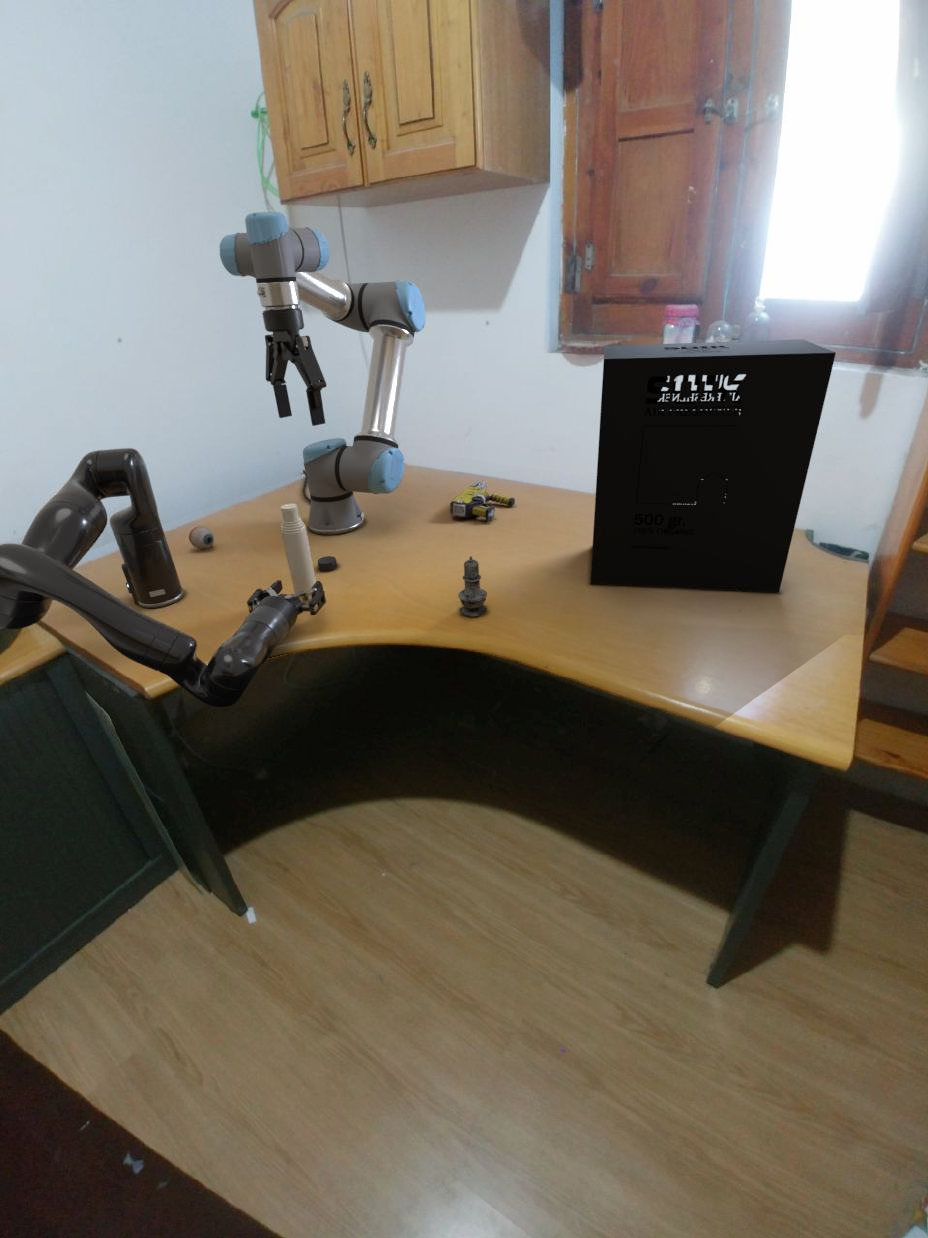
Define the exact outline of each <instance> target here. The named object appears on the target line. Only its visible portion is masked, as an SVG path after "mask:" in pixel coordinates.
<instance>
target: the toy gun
mask: <svg viewBox="0 0 928 1238" xmlns="http://www.w3.org/2000/svg"><path fill="white" fill-rule="evenodd" d="M486 487H487V482H486V481H485V480H483V481H482V482H481V480H477V481H476V482H474V483H473V484H472V485H469V486H468V487H467V488H466V489H465V490H463V491H462V492H461V493H460V494H459V495H457V496H456V497H455V498H454V499H453V500H451V502H450V503H449V504H450V505H449V513H450V515H451V516H454V518H458V519H459V518H460V519H461V518H471V517H474V516H477V517H481V518H485V521H487V522H488V521H490V520H491V519H493V518H494V517H495V511H496V509H495V508H496V507H495V506H494V505H492V504H491V505H490V506H489V505H488V504H487V503H489V502H490V501H491V502H492V503H499V504H502V505H507V506H508V507H513V506H514V505H515V503H516V499H515V498H514V497H511V496H509V497H508V496H506V495H505V496H504V495H501V494H497V493H491V495H490V494H489V492H488V491H487V489H485V488H486Z"/></svg>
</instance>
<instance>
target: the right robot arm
mask: <svg viewBox="0 0 928 1238" xmlns="http://www.w3.org/2000/svg"><path fill="white" fill-rule="evenodd" d="M244 223H245V230H246V232H236V233H233V234H226V235H225V236H223V238H221V240H220V243H219V258H220V261H221V263H222V265H223V267H224V269H225V270H226V271H227V273H229V274H230V275H232V276H234V277H242V278H243V277H253V278H254V279H255V283H256V286H257V290H256V294H257V296H258V298H259V302H260V306H261V307H262V308H264V310H263V311H262V313H261V314H262V320H263V324H264V329H265V331H266V332H268V333H272V334H265V335H264V341H265V381H266V382H267V383H268V382H269V383H270V385H271V386H272V388H273V392H274V398H275V404H276V408H277V413H278V418H279V419H284V418H289V417H293V414H292V408H291V403H290V397H289V392H288V387H287V382H286V380H285V378H286V374H287V373H286V372H287V367H288V364H289V362H291V364H293V365H294V366H295V368H296V369H297V372H298V374H299V375H300V377H301V379H302V381H303V382H304V384H305V386H306V389H305V392H306V399H307V403H308V404H307V405H308V409H309V414H310V421H311V426H313V427H315V426H319V425H320V426H321V425H324V424H326V418H325V412H324V405H323V398H322V392H321V391H322V390H323V389H324V388H327V382H326V380H325V377H324V373H323V371H322V369H321V367H320V365H319V362H318V359H317V357H316V354H315V352H314V348H313V345H312V341H311V336H310V335H302V336H301V334H300V330H303V329H304V328H305V323H304V317H303V311H302V309H301V308H299V306H300V305H301V302H303V303H305V304H307V305H310V306H312V307H313V308H315V309H317V310H319V311H320V312H321V314H322V315H323V317H325V318H326V319H328V320H330V321H332V322H334V323H336V324H339V325H341V326H343V327H345V328H348V329H351V330H354V331H357V332H362V333H368V334H369V336H370V337H371V339H372V340H373V341H372V349H371V356H370V363H369V371H368V377H367V386H366V391H365V392H366V393H365V398H364V399H365V400H364V407H363V414H362V421H361V428H360V431H359V432H358V433H356V434H355V435H354V436H353V442H352V445H347V441H346V439H345V438H342V437H335V438H328V439H323V440H320V441H316V442H313V443H309V444H308V445H306V446H305V447H304V448H303V450H302V457H303V459H302V460H303V467H304V469H302V473H303V474H304V476H305V478H304V482H303V486H302V495H303V497H304V498H305V500H306V501H308V502H309V503H310V507H309V513H308V528H309V529H308V530H310V531H311V532H312V533H314V534H317V535H323V536H324V535H325V536H327V535H329V536H331V535H339V534H340V535H341V534H345V533H350V532H353V531H355V530H357V529H359V528H361V527H362V526H363V525H364V523H365V519H364V518H365V513H364V512H363V511H362V510H361V508H360V505H359V504H358V501H357V500H356V498H355V495H354V493H363V494H365V493H366V494H372V495H381V494H382V495H386V494H387V495H388V494H391V493H393V492H395V491H396V489H398V487H399V486H400V485H401V482H402V481H403V478H404V474H405V466H406V465H405V462H404V461H405V456H404V453H403V452H402V450H400V449H399V445H400V444H399V443H398V441H397V440H396V438H395V431H396V425H397V418H398V412H399V405H400V404H399V403H400V396H401V391H402V390H401V389H402V383H403V375H404V369H405V361H406V353H407V348H408V347H410V346H411V345H413V343H414V340H415V333H419V332H422V331H423V329H424V328H425V325H426V309H425V307H426V306H425V302H424V298H423V295H422V293H421V290H420V289H419V287H418V285H416V283H414V282H412V281H410V280H399V279H398V280H396V281H380V282H361V283H360V282H359V283H358V282H357V283H352V282H351V283H350V282H345V281H343V280H341V279H339V278H333V279H331V278H330V277H328V276H326V275H324V274H323V273H321V272H320V271H322V270H324V269H325V268H326V267H327V265H328V264H329V260H330V256H331V255H330V254H331V252H330V245H329V242H328V239H327V238H326V236H325V235H324V234H323V233H322V232H321V231H319V230H317V229H314V228H310V227H308V226H307V227H289V224H288V221H287V216H286V215H285V214H284V213H282V212H280V211H260V212H259V211H258V212H251V213H248V214H247V215H246V216H245V218H244ZM307 486H308V492H309V497H308V495H307V494H306V493H307V492H306V487H307Z"/></svg>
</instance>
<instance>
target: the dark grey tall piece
mask: <svg viewBox="0 0 928 1238" xmlns="http://www.w3.org/2000/svg"><path fill="white" fill-rule="evenodd" d="M463 572H464V574H463V576H462V579H463V583H464V588H463V589H462V590H461V591H459V592H458V594H457V596H458V597H457V598H458V599H459V601H460V603H461V605H462V606H461V608H460V613H461V615H463V616H466V617H479V616H482V615H484V614H486V612H487V607H486V606H485V605H484V604H485V602H486V601H487V597H488V591H486V590H485V589H483V588H481V581H480V580H482V575H480V567H479V562H478V561H477V560H475V559H473V556H472V555H469V557H468V559H467V560H465V561H464V563H463Z"/></svg>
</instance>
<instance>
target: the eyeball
mask: <svg viewBox="0 0 928 1238" xmlns="http://www.w3.org/2000/svg"><path fill="white" fill-rule="evenodd" d="M188 539H189V542H190V544H191V545H192V546H193V547H194V548H196V549H198V550H206V549H208V548H210V547H212V545H213V544H214V541H215V535H214V533H213V531H212V529H210V528H209V527H207V526H205V525H198V526H195V527H194V528H192V529H191V530H190V532H189V535H188Z"/></svg>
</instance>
